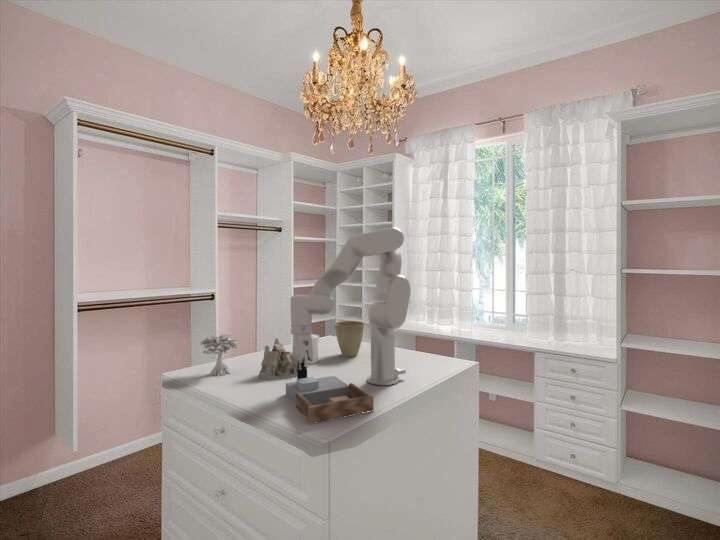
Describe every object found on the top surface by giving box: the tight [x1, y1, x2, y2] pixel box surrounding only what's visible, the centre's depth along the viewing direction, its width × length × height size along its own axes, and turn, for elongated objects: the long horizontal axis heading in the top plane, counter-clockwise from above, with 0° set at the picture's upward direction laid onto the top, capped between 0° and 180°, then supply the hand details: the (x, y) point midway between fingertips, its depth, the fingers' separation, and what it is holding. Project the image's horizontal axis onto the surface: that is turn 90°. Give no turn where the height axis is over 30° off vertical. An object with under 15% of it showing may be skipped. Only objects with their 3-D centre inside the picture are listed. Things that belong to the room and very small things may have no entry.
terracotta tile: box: [328, 396, 350, 403], centre depth 135 cm, size 6×6×2 cm
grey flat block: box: [285, 375, 349, 405], centre depth 145 cm, size 19×14×4 cm
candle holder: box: [308, 333, 320, 365], centre depth 192 cm, size 10×10×12 cm
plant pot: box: [334, 320, 365, 358], centre depth 203 cm, size 15×15×16 cm
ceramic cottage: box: [258, 337, 297, 381], centre depth 171 cm, size 16×16×15 cm
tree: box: [200, 333, 238, 377], centre depth 174 cm, size 18×16×17 cm
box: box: [295, 383, 374, 425], centre depth 132 cm, size 21×15×5 cm
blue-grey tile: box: [296, 376, 319, 391], centre depth 142 cm, size 6×6×2 cm
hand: (302, 379), depth 147 cm, fingers closed
